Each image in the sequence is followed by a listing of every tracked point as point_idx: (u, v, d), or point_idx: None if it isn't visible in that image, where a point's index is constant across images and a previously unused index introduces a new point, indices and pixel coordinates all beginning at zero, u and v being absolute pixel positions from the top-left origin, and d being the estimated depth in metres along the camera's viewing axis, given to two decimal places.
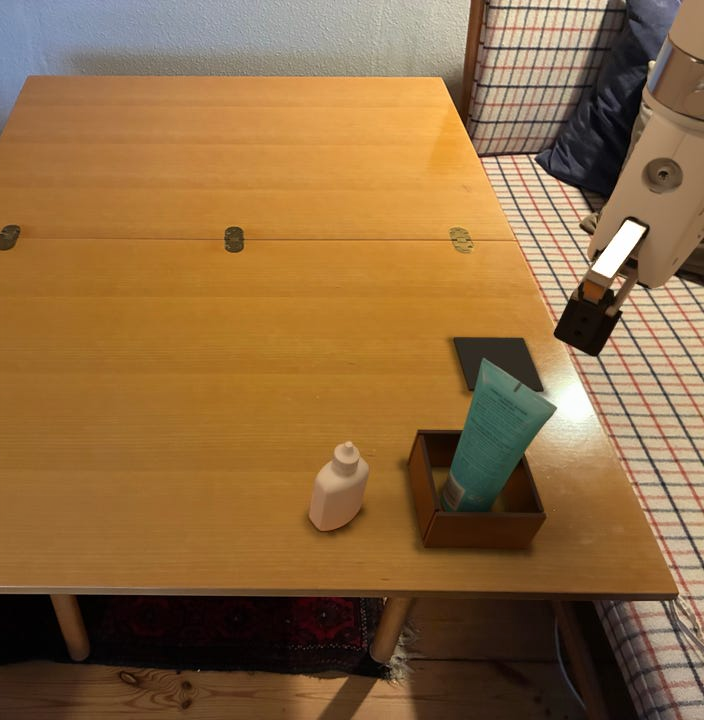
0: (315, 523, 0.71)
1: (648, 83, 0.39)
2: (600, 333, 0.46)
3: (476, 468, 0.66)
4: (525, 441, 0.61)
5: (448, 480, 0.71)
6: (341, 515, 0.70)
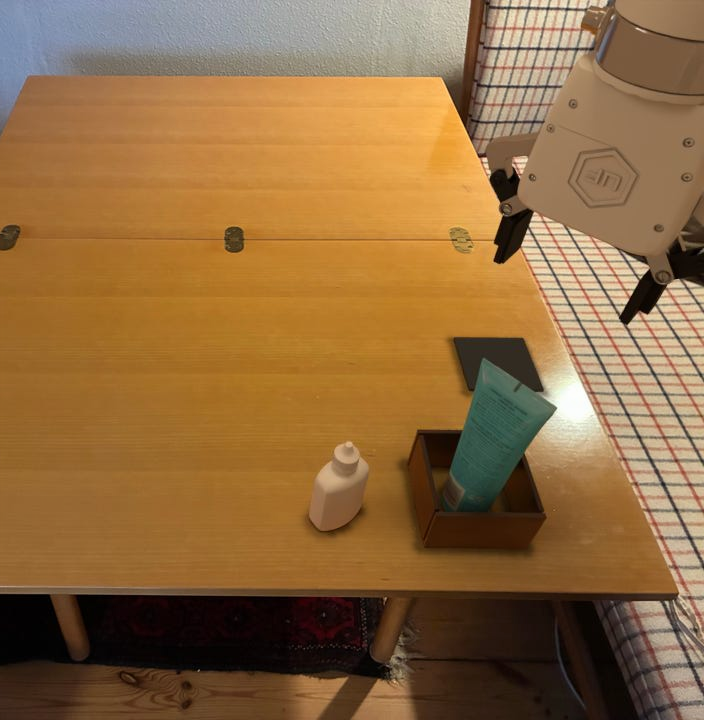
0: (315, 523, 0.71)
1: None
2: None
3: (476, 468, 0.66)
4: (525, 441, 0.61)
5: (448, 480, 0.71)
6: (341, 515, 0.70)
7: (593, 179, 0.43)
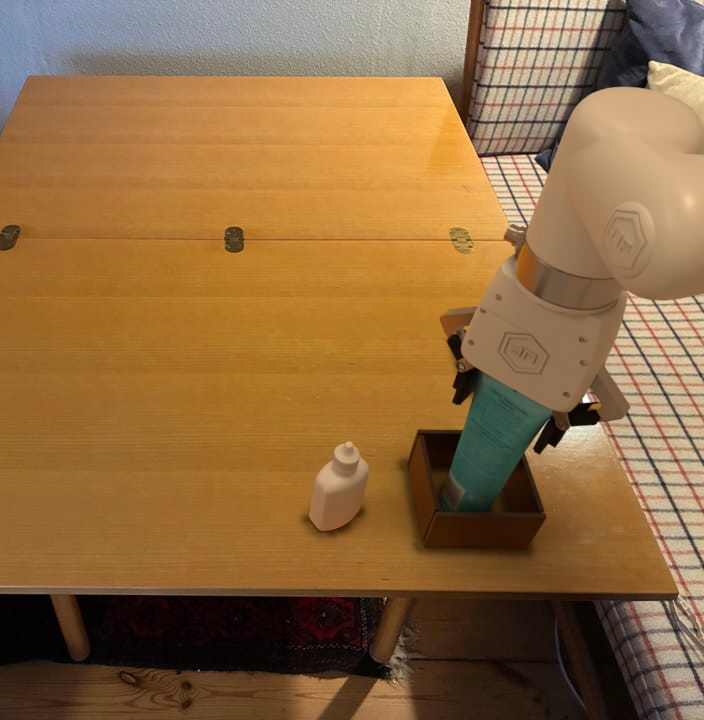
0: (315, 523, 0.71)
1: None
2: None
3: (476, 468, 0.66)
4: (525, 441, 0.61)
5: (448, 480, 0.71)
6: (341, 515, 0.70)
7: (516, 352, 0.55)
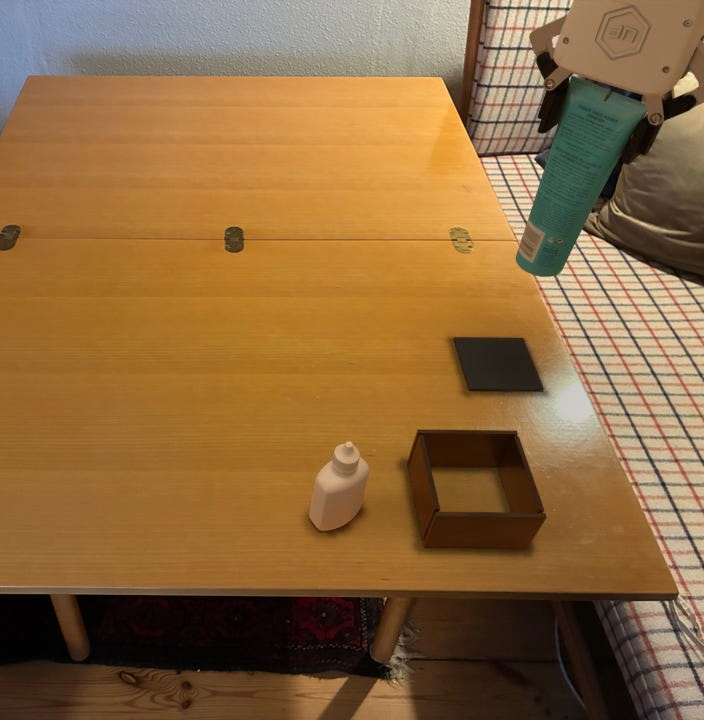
0: (315, 523, 0.71)
1: None
2: None
3: (559, 202, 0.67)
4: (613, 154, 0.62)
5: (525, 232, 0.72)
6: (341, 515, 0.70)
7: (615, 35, 0.56)
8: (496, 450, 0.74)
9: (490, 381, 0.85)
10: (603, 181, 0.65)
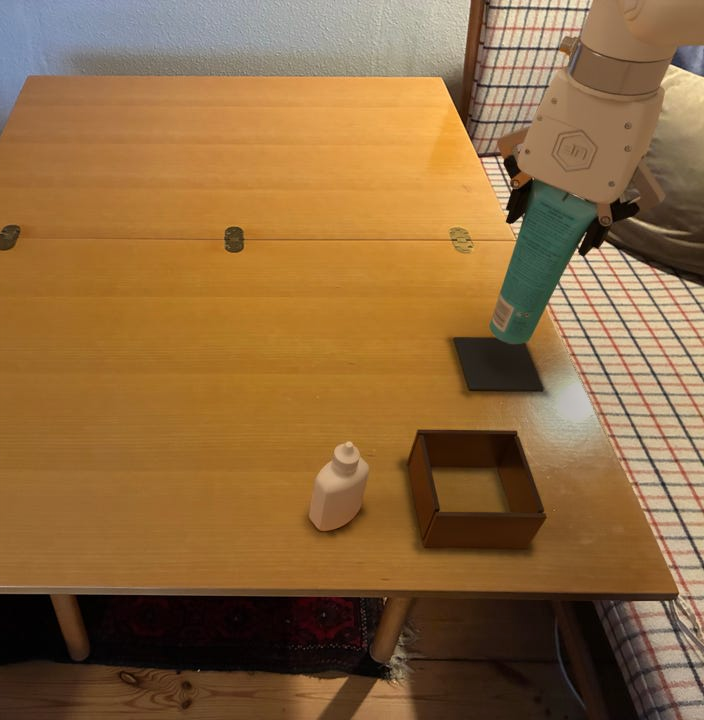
0: (315, 523, 0.71)
1: None
2: None
3: (525, 283, 0.76)
4: (571, 246, 0.71)
5: (497, 304, 0.81)
6: (341, 515, 0.70)
7: (568, 152, 0.64)
8: (496, 450, 0.74)
9: (490, 381, 0.85)
10: (563, 267, 0.73)
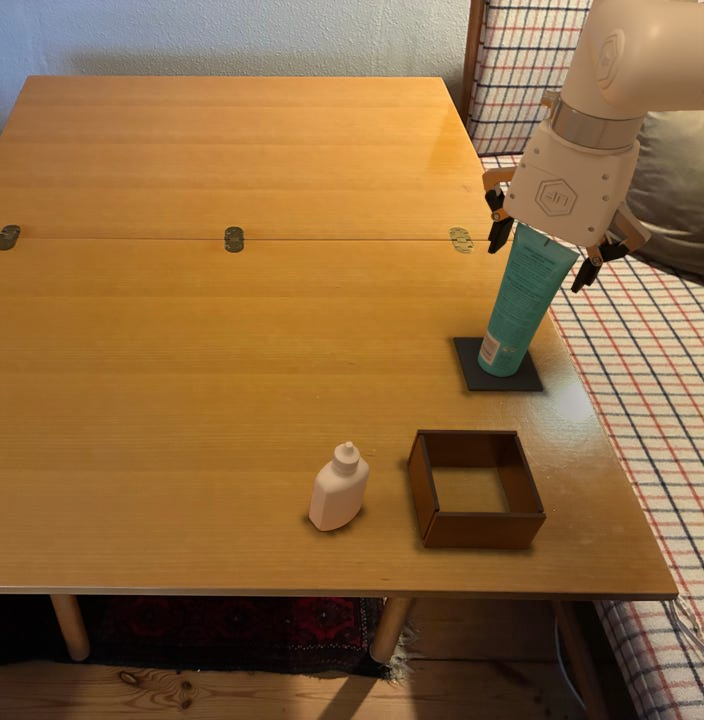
0: (315, 523, 0.71)
1: None
2: None
3: (510, 320, 0.80)
4: (552, 288, 0.75)
5: (485, 339, 0.85)
6: (341, 515, 0.70)
7: (550, 198, 0.68)
8: (496, 450, 0.74)
9: (490, 381, 0.85)
10: (546, 307, 0.77)
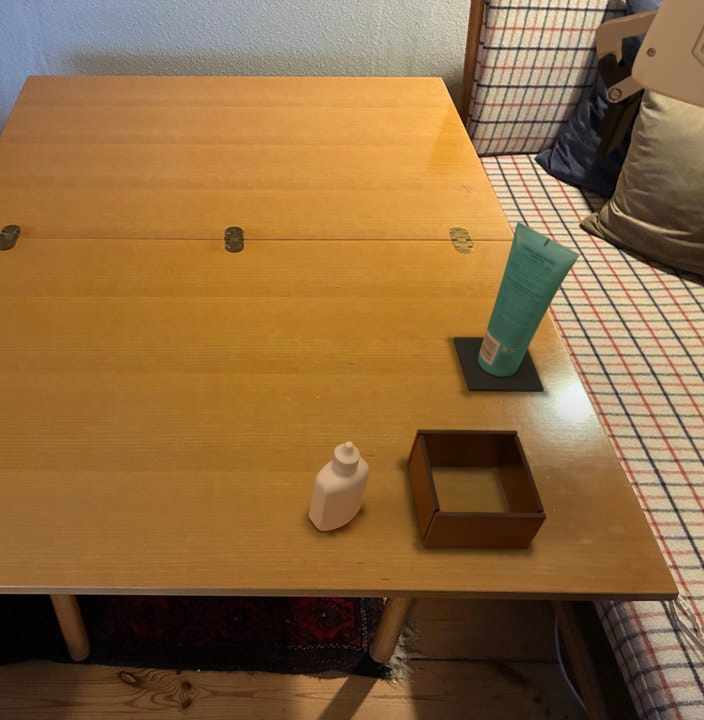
0: (315, 523, 0.71)
1: None
2: None
3: (510, 320, 0.80)
4: (552, 288, 0.75)
5: (485, 339, 0.85)
6: (341, 515, 0.70)
7: None
8: (496, 450, 0.74)
9: (490, 381, 0.85)
10: (545, 307, 0.77)
